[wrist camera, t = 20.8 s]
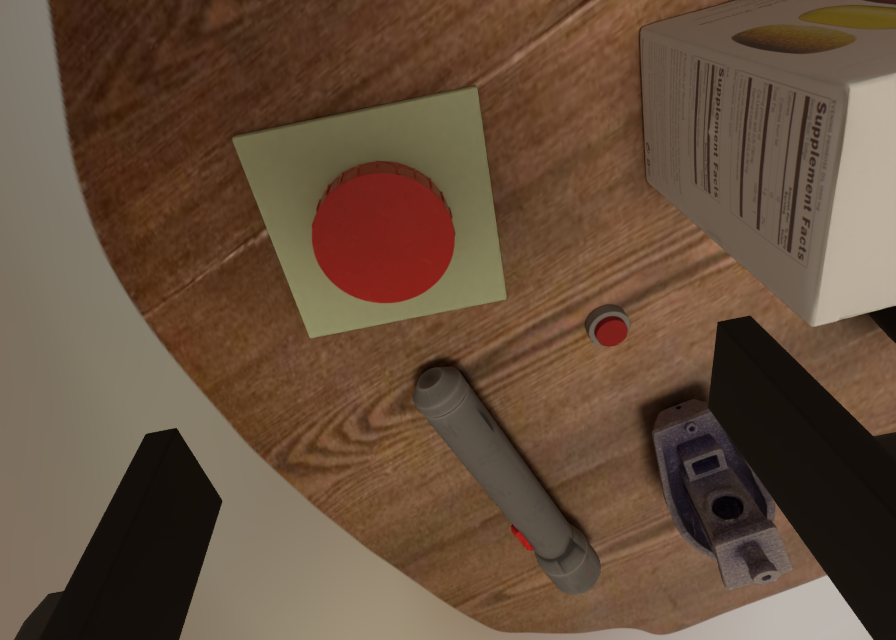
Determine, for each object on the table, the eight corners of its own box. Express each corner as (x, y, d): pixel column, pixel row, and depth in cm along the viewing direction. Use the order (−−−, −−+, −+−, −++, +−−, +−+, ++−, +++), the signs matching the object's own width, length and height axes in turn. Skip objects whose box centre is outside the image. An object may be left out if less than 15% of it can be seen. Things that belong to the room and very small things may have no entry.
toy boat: (621, 407, 45) (694, 548, 34) (714, 369, 44) (820, 504, 33) (664, 507, 53) (734, 648, 42) (744, 478, 52) (838, 615, 41)
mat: (233, 135, 31) (230, 138, 31) (476, 84, 31) (477, 86, 30) (310, 334, 39) (309, 338, 38) (505, 295, 38) (507, 299, 38)
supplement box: (811, -25, 29) (1200, -13, 15) (793, 145, 34) (1073, 271, 20) (633, 26, 30) (849, 83, 16) (641, 185, 35) (811, 335, 21)
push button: (629, 330, 41) (636, 341, 40) (590, 344, 42) (597, 356, 40) (620, 298, 39) (628, 309, 38) (580, 313, 40) (586, 325, 39)
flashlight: (472, 366, 38) (418, 416, 37) (613, 568, 52) (576, 608, 50) (439, 344, 42) (390, 389, 41) (577, 536, 56) (543, 572, 55)
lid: (461, 274, 37) (465, 290, 35) (336, 297, 37) (334, 315, 35) (439, 147, 32) (442, 158, 30) (296, 175, 32) (291, 188, 30)
